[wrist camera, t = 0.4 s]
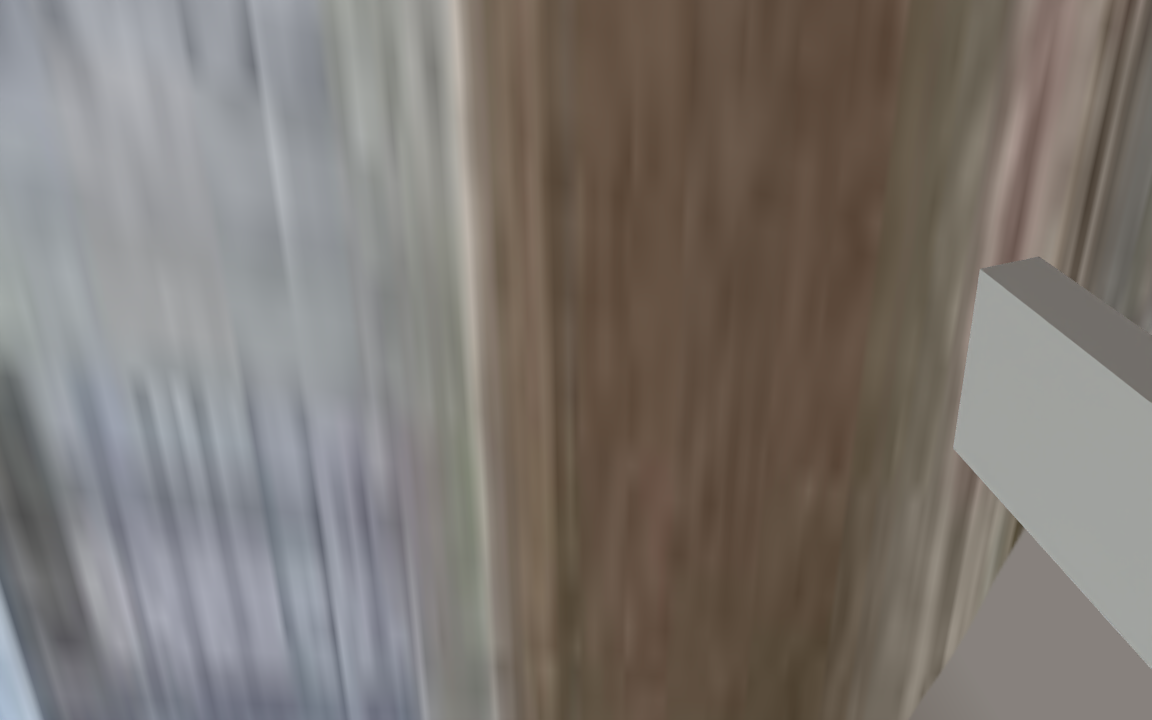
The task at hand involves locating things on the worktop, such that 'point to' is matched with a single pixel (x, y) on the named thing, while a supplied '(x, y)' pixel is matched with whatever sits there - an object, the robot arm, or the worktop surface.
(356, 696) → the worktop surface
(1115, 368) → the robot arm
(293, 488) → the worktop surface
